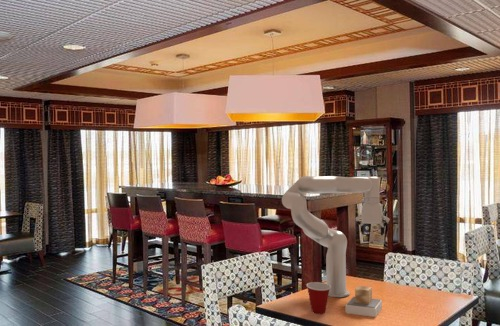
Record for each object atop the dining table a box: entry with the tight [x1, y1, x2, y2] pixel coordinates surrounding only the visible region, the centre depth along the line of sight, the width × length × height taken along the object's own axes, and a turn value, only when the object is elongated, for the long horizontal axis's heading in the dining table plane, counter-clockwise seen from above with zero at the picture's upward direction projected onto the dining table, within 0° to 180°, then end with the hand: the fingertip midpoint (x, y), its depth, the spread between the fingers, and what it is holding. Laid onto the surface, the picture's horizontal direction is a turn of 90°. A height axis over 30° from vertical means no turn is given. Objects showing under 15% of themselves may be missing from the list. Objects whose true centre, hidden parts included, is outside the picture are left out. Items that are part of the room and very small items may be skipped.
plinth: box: [344, 296, 383, 318], centre depth 213 cm, size 13×13×4 cm
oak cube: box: [354, 285, 373, 304], centre depth 213 cm, size 6×6×6 cm
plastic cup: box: [305, 281, 331, 315], centre depth 212 cm, size 11×11×12 cm
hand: (372, 234), depth 246 cm, fingers open, 9 cm apart
